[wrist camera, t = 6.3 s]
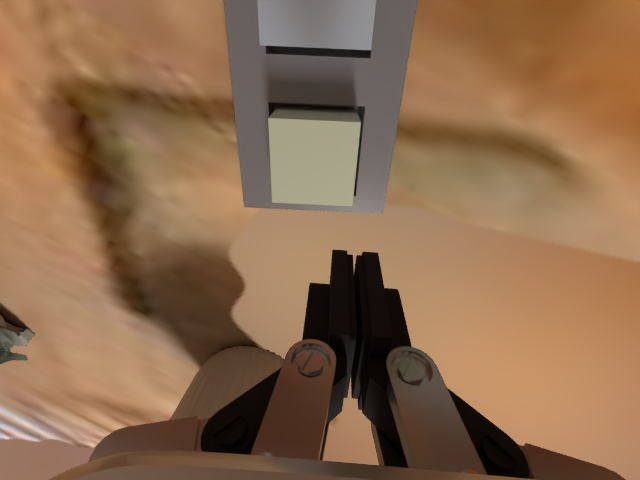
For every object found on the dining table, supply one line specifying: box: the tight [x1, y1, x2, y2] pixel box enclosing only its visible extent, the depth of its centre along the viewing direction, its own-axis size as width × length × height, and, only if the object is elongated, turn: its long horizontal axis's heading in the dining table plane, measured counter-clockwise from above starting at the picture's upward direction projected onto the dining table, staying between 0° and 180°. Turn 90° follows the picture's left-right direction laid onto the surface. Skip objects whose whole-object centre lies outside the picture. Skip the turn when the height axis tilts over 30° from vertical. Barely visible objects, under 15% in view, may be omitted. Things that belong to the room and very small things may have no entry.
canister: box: [170, 346, 285, 420], centre depth 35 cm, size 18×18×21 cm
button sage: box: [268, 105, 361, 206], centre depth 24 cm, size 6×6×5 cm
